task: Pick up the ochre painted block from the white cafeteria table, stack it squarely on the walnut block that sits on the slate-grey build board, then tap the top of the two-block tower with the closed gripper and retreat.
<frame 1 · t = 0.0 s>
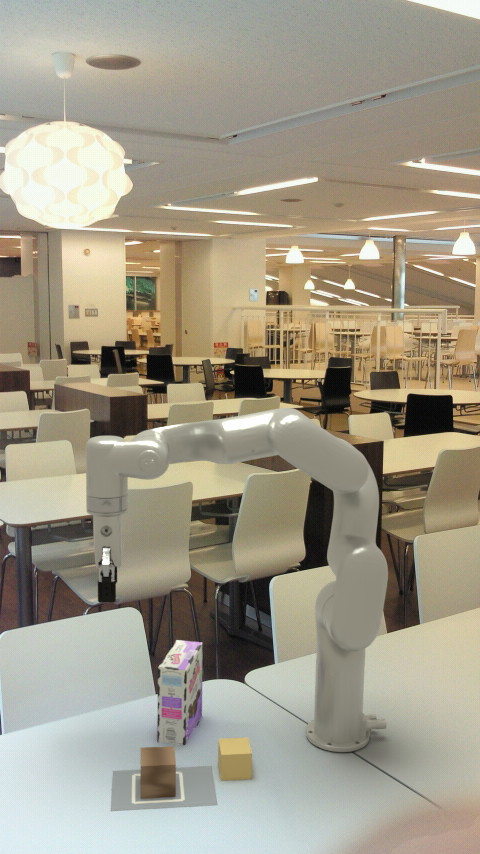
hand: (107, 592, 158), 31 cm above the table, tool pointing down, fingers open, 9 cm apart
candy box: (180, 731, 169), on the table
walnut block: (157, 787, 148), point 1 cm above the table, touching build board
build board: (163, 792, 148), on the table
ochre block: (234, 776, 154), on the table
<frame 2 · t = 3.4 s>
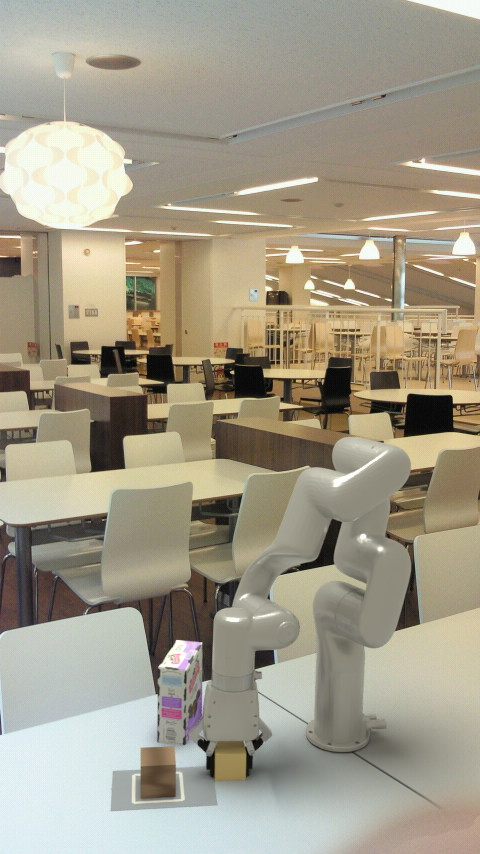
hand: (228, 771, 153), 1 cm above the table, tool pointing down, fingers closed on ochre block, 5 cm apart
ochre block: (228, 776, 153), on the table, touching gripper
everything else where it was.
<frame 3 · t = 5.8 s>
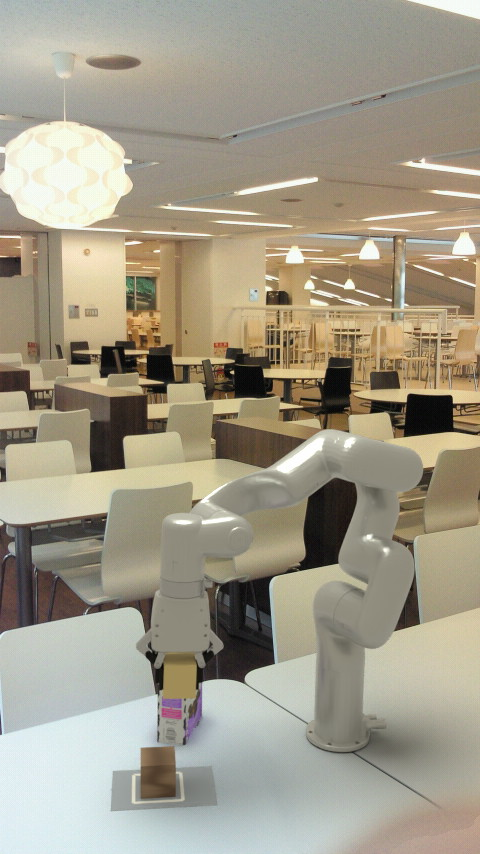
hand: (178, 685, 146), 19 cm above the table, tool pointing down, fingers closed on ochre block, 5 cm apart
ochre block: (178, 691, 147), point 18 cm above the table, touching gripper
everything else where it was.
when the fingers open (9 cm above the table, at t = 8.3 s): ochre block stays where it is, resting on walnut block.
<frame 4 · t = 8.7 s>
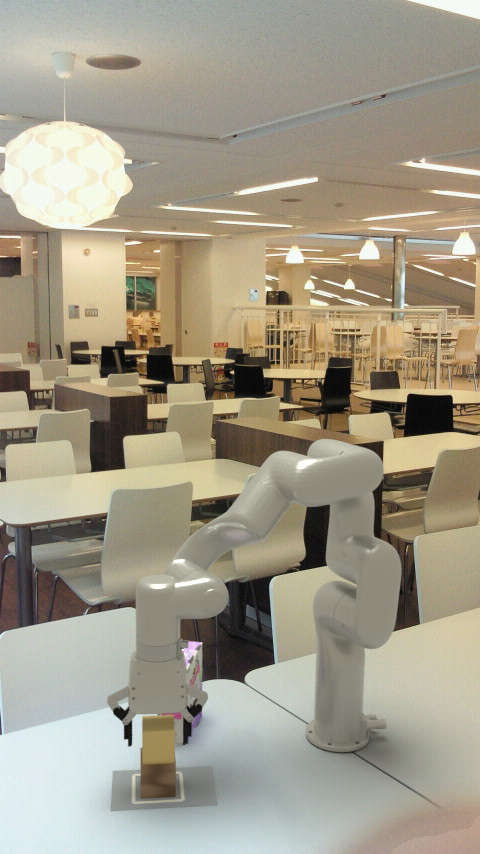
hand: (157, 741, 147), 10 cm above the table, tool pointing down, fingers open, 9 cm apart
walnut block: (157, 787, 148), point 1 cm above the table, touching build board, ochre block
ochre block: (158, 755, 147), point 7 cm above the table, touching walnut block
everything else where it was.
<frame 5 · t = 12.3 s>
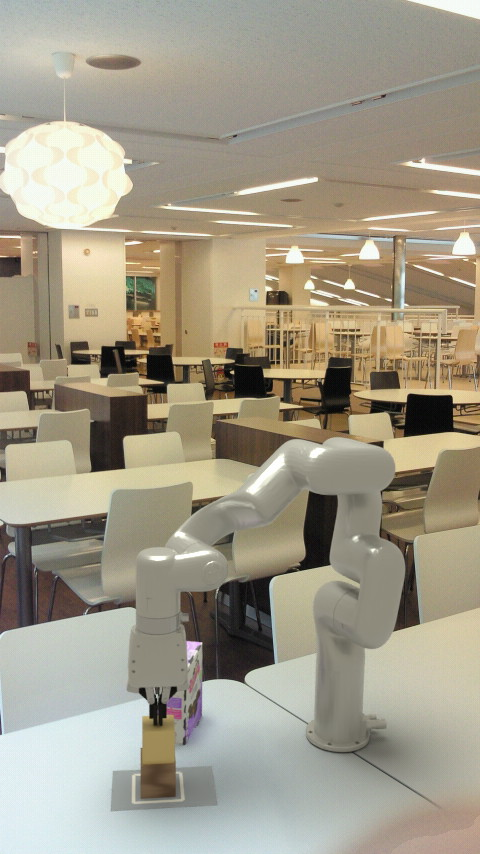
hand: (157, 721, 146), 13 cm above the table, tool pointing down, fingers closed
nothing on the table moved.
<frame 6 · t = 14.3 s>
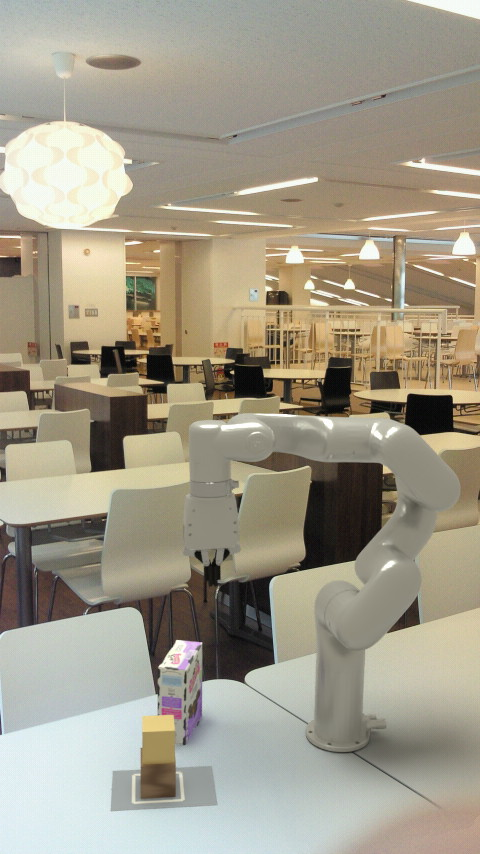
hand: (212, 583, 157), 33 cm above the table, tool pointing down, fingers closed
nothing on the table moved.
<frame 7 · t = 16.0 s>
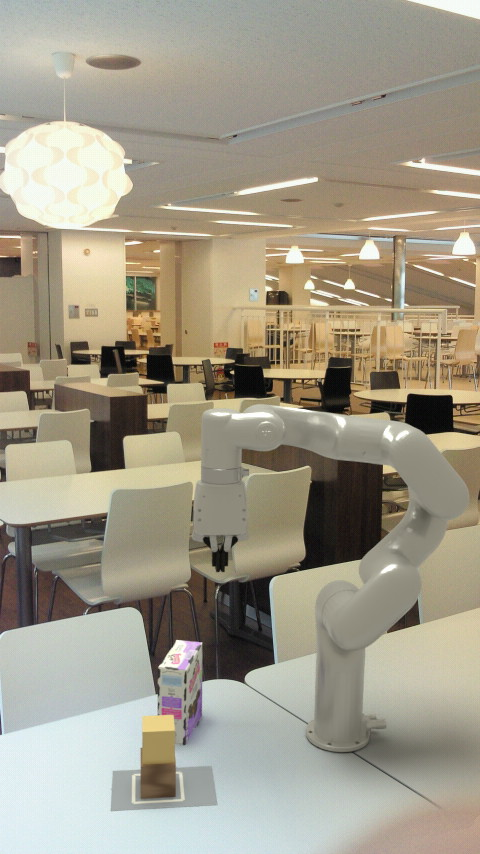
hand: (219, 569, 160), 35 cm above the table, tool pointing down, fingers closed
nothing on the table moved.
at the end: ochre block 0.3 cm off-centre on the walnut block, point 6.0 cm above the walnut block's base; ochre block tilted 0°; walnut block moved 0.1 cm from its start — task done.
